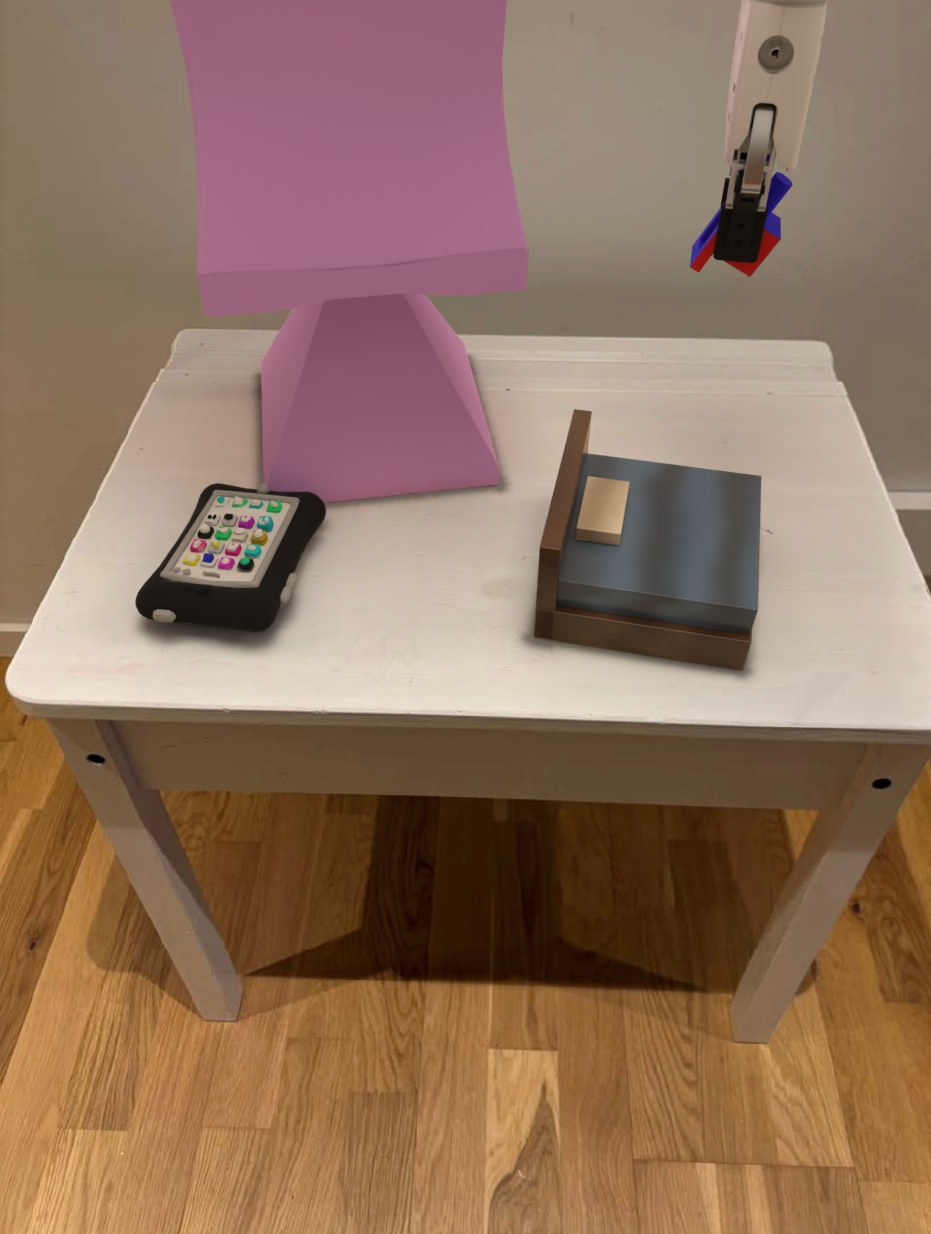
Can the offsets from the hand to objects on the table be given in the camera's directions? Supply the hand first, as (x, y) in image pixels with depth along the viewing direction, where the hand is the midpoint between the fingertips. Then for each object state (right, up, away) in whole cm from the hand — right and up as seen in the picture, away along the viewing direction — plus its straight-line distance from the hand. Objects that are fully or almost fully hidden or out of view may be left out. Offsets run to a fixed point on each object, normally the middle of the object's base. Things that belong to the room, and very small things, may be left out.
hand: (736, 244), depth 74 cm
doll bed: (-6, -25, +2) cm, 26 cm away
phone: (-38, -25, +3) cm, 45 cm away
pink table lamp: (-29, -11, +16) cm, 34 cm away
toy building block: (0, -1, +1) cm, 2 cm away
